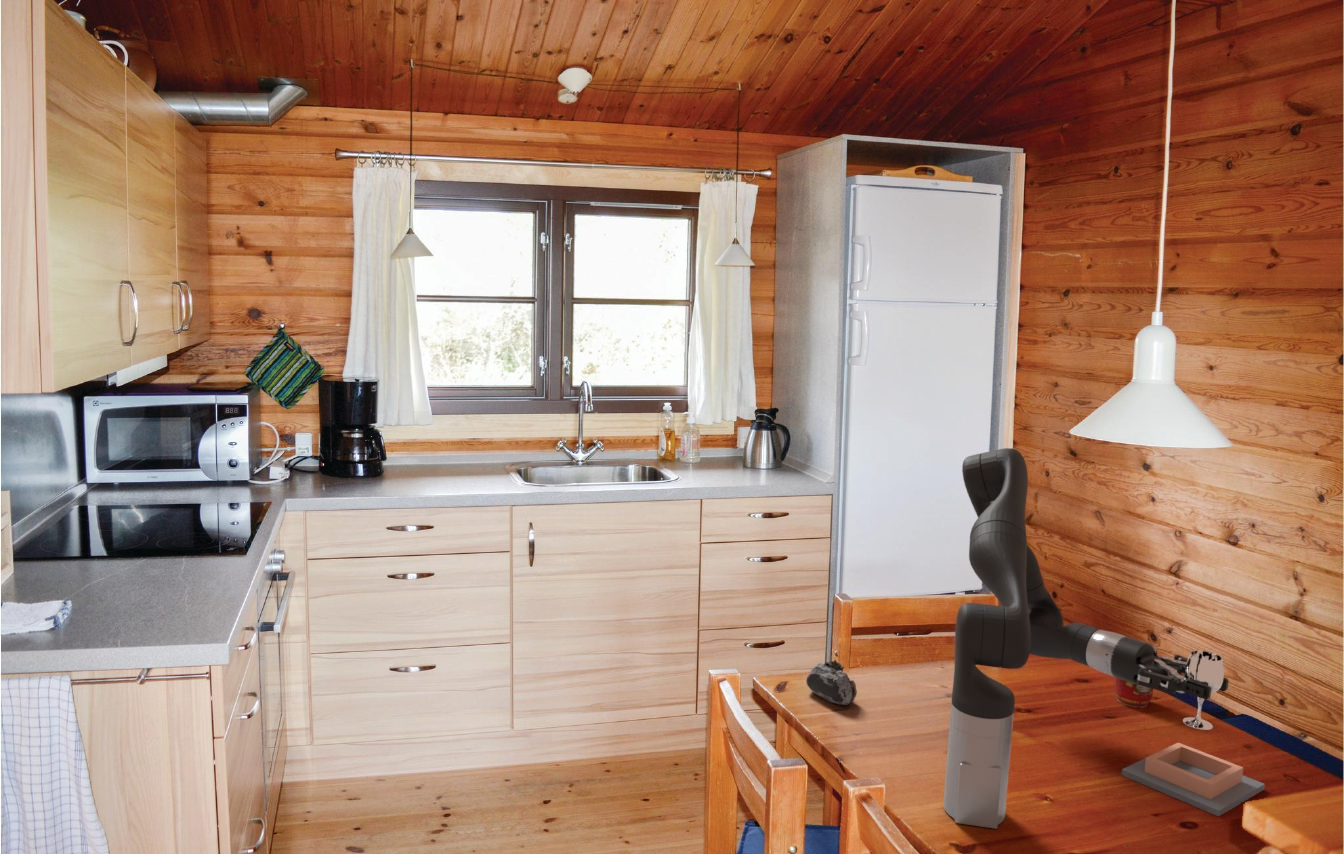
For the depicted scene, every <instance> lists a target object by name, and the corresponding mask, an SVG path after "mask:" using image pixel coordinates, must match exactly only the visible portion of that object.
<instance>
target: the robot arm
mask: <svg viewBox="0 0 1344 854" xmlns="http://www.w3.org/2000/svg"><path fill="white" fill-rule="evenodd" d="M962 479H963V483H964V486H965V489H966V493H967V495H968V497H969V500H970V502H971V505H972V507H973V510H974V513H975V514H976V516H977V519H976V520H975V522H974V523H973V525H972V527H971V529H970V530H971V531H970V534H969V547H968V550H969V551H968V559H969V563H970V566H971V568H972V570H973V571H974V574H975V576H977V577H978V579H979V580H980V581H981V582H982V583H983V585H984V586H985V587H986V588H987V589H988V590H989V591H990V592H991V593H992V594H993V595H994V596H995V598H996V599H997V600H998V602H999V603H1000V605H995V604H987V603H986V604H985V603H976V602H964V603H963V604H961V605H960V606H959V609H958V610H957V614H956V620H955V628H954V629H955V631H954V634H955V635H954V637H955V638H954V672H953V683H952V685H953V686H952V693H951V702H950V703H951V704H950V717H949V728H948V730H949V731H948V741H947V742H948V743H947V755H946V756H947V757H946V765H945V768H946V769H945V778H944V779H945V780H944V781H945V782H944V794H943V795H944V796H943V809H944V811H945V812H946V813H947V814H948V816H950V817H951V818H953V819H954V822H955V823H956V824H961V825H968V826H969V825H970V826H973V827H974V826H975V827H982V828H990V829H998V825H1000V824H1001V823H1002V822H1004V820H1005V817H1006V810H1007V809H1006V807H1007V798H1008V785H1009V783H1008V782H1009V773H1010V772H1009V771H1010V761H1011V750H1012V749H1011V747H1012V737H1013V736H1012V735H1013V728H1014V727H1013V726H1014V718H1015V717H1014V715H1015V714H1014V713H1015V704H1016V699H1015V694H1014V692H1013V690H1011V688H1009V687H1008V686H1006V685H1005V684H1003V683H1001V682H999V681H997V680H995V679H993V678H992V677H990V676H988V675H987V674H985V673H984V672H982V671H981V670H980V669H979V668H978V667H977V666H982V667H983V666H984V667H989V668H991V667H992V668H998V669H1000V668H1001V669H1007V670H1009V669H1010V670H1016V669H1017V670H1018V669H1021V668H1024V666H1025V665H1026V664H1027V662H1028V659H1029V657H1030V655H1032V656H1035V657H1040V658H1041V657H1042V658H1048V659H1049V658H1050V659H1057V660H1058V659H1059V660H1070V661H1073V662H1076V663H1078V664H1081V665H1084V666H1086V667H1090V668H1091V669H1095V670H1097V671H1098V672H1100V673H1102V674H1106V675H1108V676H1111V677H1114V678H1119V679H1122V680H1125V681H1128V682H1130V683H1133V684H1136V685H1141V686H1145V687H1148V688H1152V689H1153V690H1155V691H1160V692H1163V693H1167V694H1170V695H1175V694H1176V692H1177V693H1179V694H1187V695H1191V696H1194V697H1199V698H1202V699H1204V701H1205V700H1209V699H1210V698H1211V694H1212V693H1211V687H1210V686H1208V685H1205V684H1202V683H1198V682H1195V681H1192V680H1190V679H1187V680H1186V678H1185V677H1184V676H1182V674H1184V671H1185V666H1186V663H1187V660H1188V657H1185V656H1182V655H1181V654H1174V655H1173V656H1174V657H1173V658H1172V657H1170V656H1158V654H1157V655H1156V653H1155V650H1154V648H1153V647H1154V646H1153V644H1151V643H1148V642H1146V641H1144V640H1143V641H1144V642H1143V641H1142V640H1139V639H1137V638H1133V637H1129V636H1127V635H1123V634H1120V633H1117V632H1115V631H1114V632H1113V631H1110V630H1109V631H1108V630H1104V629H1100V628H1097V627H1094V626H1090V625H1088V624H1084V623H1079V622H1072V623H1069V624H1067V625H1064V624H1065V623H1064V618H1063V614H1062V612H1061V610H1060V608H1059V607H1058V605H1057V603H1056V602H1055V600H1054V599H1053V597H1052V595H1051V594H1050V593H1049V592H1050V591H1048V589H1047V588H1046V586H1045V583H1044V578H1043V576H1042V572H1041V568H1040V566H1039V562H1038V559H1037V556H1036V555H1035V552H1034V551H1033V549H1031V547H1030V546H1029V545H1028V544H1027V542H1028V541H1027V529H1026V526H1027V525H1026V507H1027V506H1026V505H1027V498H1028V497H1027V496H1028V487H1029V481H1028V480H1029V476H1028V468H1027V464H1026V460H1025V458H1024V456H1023V454H1022V453H1021V452H1020V451H1019V450H1017V449H1015V448H1013V447H1012V448H1008V447H1007V448H1006V447H1005V448H999V449H995V450H990V451H986V452H982V453H976V454H972V455H969V456H966V457H965V458H964V460H963V461H962ZM1229 682H1230V681H1229V678H1227V677H1225V676H1224V679H1223V683H1222V686H1221V688H1220V689H1219V690H1218V691H1221V692H1225V691H1228V690H1229V689H1228V688H1229Z"/></svg>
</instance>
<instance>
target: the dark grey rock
mask: <svg viewBox="0 0 1344 854" xmlns="http://www.w3.org/2000/svg"><path fill="white" fill-rule="evenodd" d="M845 668H846V667H845V665H842V664H841V663H840V662H837V660H836V659H835V660H830V661H827V662H824V664H823V663H822V662H820V663H817V664H816V665H815V666H814V667H813V668H812V669H811V670H810V672H809V673H808V675H807V677H806V680H805V681H806V685H807V687H808V688H809V689H810V691H811V692H812V693H813V694H815V695H816V696H818V697H820V698H822V699H824V700H825V701H827V702H829V703H832V704H837V705H844V706H845V705H847V706H848V705H849V704H850V703H851V702H853V701H855V699H856V696H857V693H858V690H857V686H856V682H855V681H854V680H853V679H852V680H851V679H850V678H849V676H848V674H847V673H846V672H844V669H845Z"/></svg>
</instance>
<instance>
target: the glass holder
mask: <svg viewBox="0 0 1344 854" xmlns="http://www.w3.org/2000/svg"><path fill="white" fill-rule="evenodd" d="M1243 774H1244V767H1243V766H1240V765H1238V764H1236V763H1233V762H1230V761H1228V760H1225V759H1222V758H1220V757H1217V756H1214V755H1211V754H1209V753H1206V752H1204V751H1201V750H1200V749H1196V748H1193V747H1191V746H1189V745H1186V744H1183V743H1180V742H1176V743H1174V744H1173V745H1170V746H1167V747H1166V748H1164V749H1161V750H1159V751H1157V752H1155V753H1152V754H1151V755H1149V756H1147V757H1145V758H1143V759H1141V760H1139V761H1136V762H1134V763H1133V764H1130V765H1128V766H1127V767H1124V768H1122V769H1121V776H1122V777H1125V778H1128V779H1130V780H1132V781H1134V782H1138V784H1142V785H1144V786H1147V787H1148V788H1151V789H1154V790H1156V791H1158V792H1160V793H1163V794H1164V795H1167V796H1170V797H1172V798H1175V799H1176V800H1179V801H1181V802H1183V803H1186V804H1188V805H1190V806H1193V807H1195V808H1198V809H1199V810H1202V811H1205V812H1207V813H1209V814H1211V815H1213V816H1217V817H1221V816H1222V815H1224V814H1225V813H1227V812H1229V811H1230V810H1233V809H1234V808H1235V807H1237V806H1239V805H1241V804H1242V803H1244V802H1246V801H1247V800H1249V799H1251V798H1252V797H1254V796H1256V795H1257V794H1260V793H1261V792H1262V791H1264V790H1265V788H1266V787H1265V786H1266V784H1265V783H1264V782H1260V781H1259V780H1256V779H1253V778H1250V777H1248V776H1246V775H1243ZM1241 802H1242V803H1241Z"/></svg>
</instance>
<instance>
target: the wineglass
mask: <svg viewBox="0 0 1344 854" xmlns="http://www.w3.org/2000/svg"><path fill="white" fill-rule="evenodd" d="M1187 658H1188V660H1187V663H1186V666H1185V671H1184V673H1183V675H1184V676H1183V677H1185V678H1186V680H1187V679H1190V680H1192V681H1195V682H1198V683H1202V684H1205V685H1208V686H1210V687H1211V694H1213V693H1217V691H1220V690H1219V689H1220V688H1221V686H1222V683H1223V679H1224V677H1225V671H1224V662H1223V658H1222V656H1221V655H1218V654H1216V653H1214V652H1211V651H1206V650H1199V649H1198V650H1197V649H1196V650H1192V651H1190V653H1189V655H1188V657H1187ZM1204 701H1205V699H1202V698H1199V697H1197V713H1196V716H1195V717H1191V716H1190V717H1189V716H1188V717H1184V718H1183V719H1182V722H1183V724H1184V725H1186V726H1188V727H1191V728H1193V729H1197V730H1205V731H1206V730H1207V731H1208V730H1210V731H1211V730H1212V729H1213V728H1214V726H1213V723H1211V722H1209V721H1207V720H1205V719H1203V718H1202V717H1201V716H1202V715H1201V713H1202V706H1203V703H1204Z"/></svg>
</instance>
